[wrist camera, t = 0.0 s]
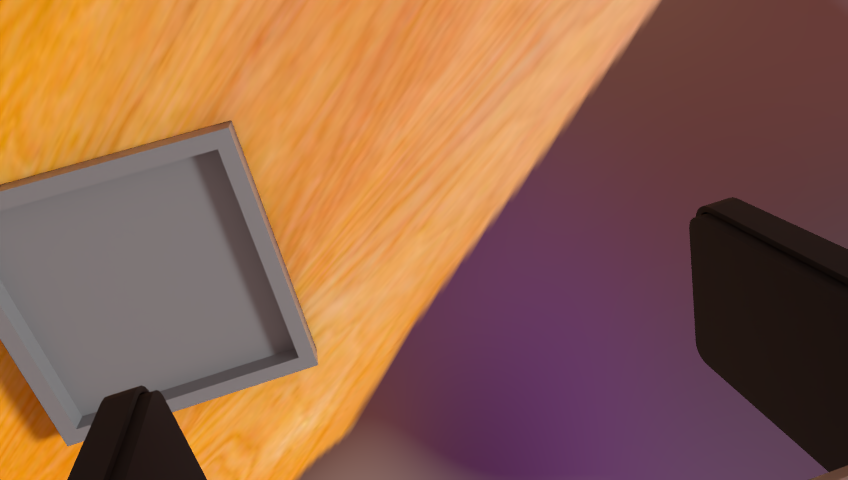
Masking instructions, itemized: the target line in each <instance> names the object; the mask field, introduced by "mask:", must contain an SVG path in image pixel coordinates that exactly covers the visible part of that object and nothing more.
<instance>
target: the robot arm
mask: <svg viewBox="0 0 848 480" xmlns="http://www.w3.org/2000/svg"><path fill="white" fill-rule="evenodd" d="M689 229H690V247H691V265H692V283H693V300H694V318H695V333H696V334H695V335H696V346H697V349H698V352H699V354H700V356H701V357H702V359H703V360H704V362H705V363H706V364H707V365H709V367H711V368H712V369H713V370H714V371H715V372H716V373H718V374H719V375H720V376H721V377H722V378H723V379H724V380H725V381H726V382H728V383H729V384H730V385H731V386H732V387H733V388H734V389H736V390H737V391H738V392H739V393H740V394H741V395H742V396H743V397H745V398H746V399H747V400H748V401H749V402H750V403H752V404H753V405H754V406H755V407H756V408H757V409H758V410H759V411H760V412H762V413H763V414H764V415H765V416H766V417H767V418H768V419H770V420H771V421H772V422H773V423H774V424H775V425H776V426H777V427H779V428H780V429H781V430H782V431H783V432H784V433H786V435H788V436H789V437H790V438H791V439H792V440H793V441H795V442H796V443H797V444H798V445H799V446H800V447H801V448H802V449H803V450H805V451H806V452H807V453H808V454H809V455H810V456H811V457H813V458H814V459H815V460H816V461H817V462H818V463H819V464H820V465H822V466H823V467H824V468H825V469H826V470H827V471H828V472H829V473H826V474H823V475H820V476H818V477H815V478H812V479H810V480H848V249H846V248H844V247H841V246H839V245H837V244H835V243H832V242H831V241H828V240H826V239H824V238H822V237H820V236H818V235H815V234H813V233H811V232H809V231H807V230H804V229H802V228H800V227H798V226H796V225H794V224H791V223H789V222H787V221H785V220H783V219H781V218H778V217H776V216H774V215H772V214H770V213H767V212H765V211H763V210H761V209H759V208H756V207H755V206H752V205H750V204H748V203H746V202H744V201H742V200H739V199H737V198H733V197H732V198H728V199H724V200H721V201H718V202H715V203H712V204H709V205H706V206H702V207H700V208H699V209H698V211H697V213H696V217H695V218H693V219H692V220H691V222H690V227H689ZM67 480H207V479H206V477H205V475H204V473H203V471H202V469H201V467H200V465H199V464H198V462H197V460H196V458H195V456H194V454H193V452H192V450H191V448H190V446H189V444H188V442H187V440H186V439H185V437H184V435H183V433H182V431H181V429H180V427H179V425H178V423H177V421H176V419H175V417H174V415H173V414H172V412H171V410H170V408H169V406H168V404H167V402H166V400H165V398H164V396H163V395H162V393H161V392H160V391H158V390H154V391H151V392H149V390H148V389H147V388H146V387H145V386H142V385H141V386H138V387H135V388H131V389H128V390H125V391H122V392H119V393H116V394H113V395H109V396H107V397H104V399H103V400H102V401H101V404H100V406H99V408H98V411H97V413H96V415H95V417H94V420H93V422H92V424H91V427H90V429H89V431H88V434H87V436H86V438H85V440H84V443H83V445H82V447H81V450H80V452H79V454H78V456H77V459H76V461H75V463H74V466H73V468H72V470H71V473H70V475H69V477H68V479H67Z"/></svg>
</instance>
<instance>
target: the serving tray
mask: <svg viewBox="0 0 848 480" xmlns="http://www.w3.org/2000/svg"><path fill="white" fill-rule="evenodd" d="M0 340H1V341H2V343H3V344H4V346H5V348H6V349H7V351H8V352H9V354H10V355H11V357H12V359H13V360H14V362H15V363H16V365H17V367H18V368H19V370H20V371H21V373H22V374H23V376H24V378H25V379H26V381H27V382H28V384H29V386H30V387H31V389H32V390H33V392H34V394H35V395H36V397H37V398H38V400H39V401H40V403H41V405H42V406H43V408H44V409H45V411H46V413H47V414H48V416H49V417H50V419H51V421H52V422H53V424H54V425H55V427H56V428H57V430H58V432H59V433H60V435H61V436H62V438H63V440H64V441H65V443H66V444H67V446H70V445H73V444H76V443H79V442H82V441H84V440H85V438H86V436H87V434H88V431H89V429H90V427H91V424H92V422H93V420H94V417H95V415H96V413H97V411H98V408H99V406H100V404H101V401H102V400H103V399H104V397H107V396H109V395H113V394H116V393H119V392H122V391H125V390H128V389H131V388H135V387H138V386H141V385H142V386H145V387H146V388H147V389H148V390H149V392H151V391H154V390H158V391H160V392H161V393H162V395H163V396H164V398H165V400H166V402H167V404H168V406H169V408H170V410H171V412H175V411H178V410H181V409H184V408H187V407H190V406H193V405H196V404H199V403H202V402H205V401H208V400H212V399H215V398H218V397H221V396H224V395H227V394H230V393H233V392H236V391H239V390H242V389H245V388H249V387H252V386H255V385H258V384H261V383H264V382H267V381H270V380H273V379H276V378H279V377H282V376H285V375H289V374H292V373H295V372H298V371H301V370H304V369H307V368H310V367H313V366H316V365H318V360H317V350H316V347H315V344H314V341H313V339H312V336H311V333H310V331H309V328H308V325H307V322H306V320H305V317H304V314H303V312H302V309H301V306H300V304H299V301H298V298H297V296H296V293H295V290H294V288H293V285H292V282H291V279H290V277H289V274H288V271H287V269H286V266H285V263H284V261H283V258H282V255H281V253H280V250H279V247H278V245H277V242H276V239H275V237H274V234H273V231H272V228H271V226H270V223H269V220H268V218H267V215H266V212H265V210H264V207H263V204H262V202H261V199H260V196H259V194H258V191H257V188H256V185H255V183H254V180H253V177H252V175H251V172H250V169H249V167H248V164H247V161H246V159H245V156H244V153H243V151H242V148H241V145H240V143H239V140H238V137H237V134H236V132H235V129H234V126H233V124H232V121H228V122H224V123H221V124H217V125H214V126H210V127H206V128H203V129H199V130H196V131H192V132H188V133H185V134H181V135H178V136H174V137H171V138H167V139H163V140H160V141H156V142H153V143H149V144H145V145H142V146H138V147H135V148H131V149H128V150H124V151H120V152H117V153H113V154H110V155H106V156H103V157H99V158H95V159H92V160H88V161H85V162H81V163H77V164H74V165H70V166H67V167H63V168H60V169H56V170H52V171H49V172H45V173H42V174H38V175H34V176H31V177H27V178H24V179H20V180H17V181H13V182H9V183H6V184H2V185H0Z"/></svg>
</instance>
